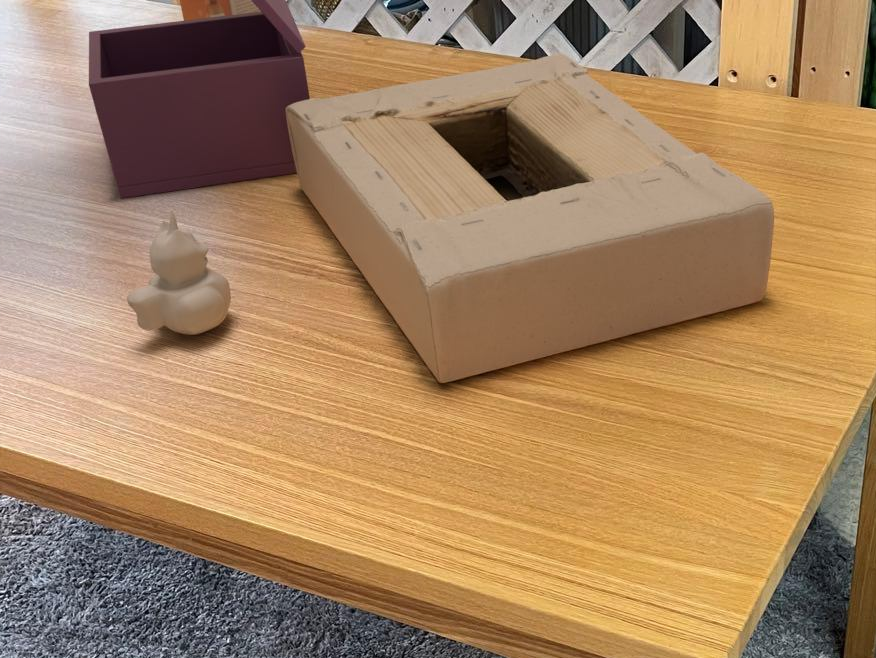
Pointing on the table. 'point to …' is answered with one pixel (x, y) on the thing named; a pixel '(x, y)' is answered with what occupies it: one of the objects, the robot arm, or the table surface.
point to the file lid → (282, 21)
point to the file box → (195, 101)
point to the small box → (215, 8)
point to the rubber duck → (180, 285)
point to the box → (526, 213)
